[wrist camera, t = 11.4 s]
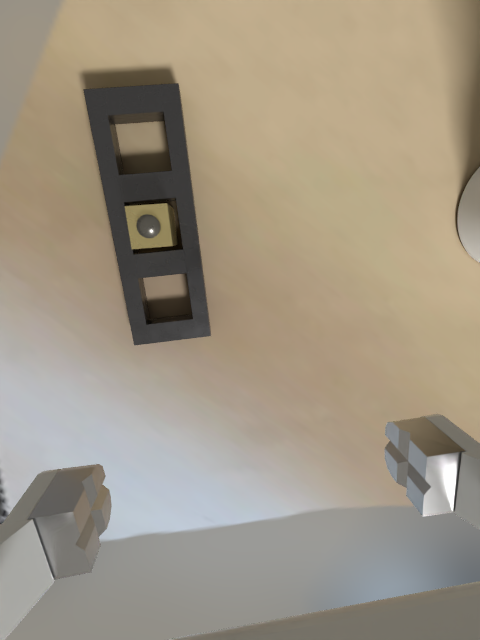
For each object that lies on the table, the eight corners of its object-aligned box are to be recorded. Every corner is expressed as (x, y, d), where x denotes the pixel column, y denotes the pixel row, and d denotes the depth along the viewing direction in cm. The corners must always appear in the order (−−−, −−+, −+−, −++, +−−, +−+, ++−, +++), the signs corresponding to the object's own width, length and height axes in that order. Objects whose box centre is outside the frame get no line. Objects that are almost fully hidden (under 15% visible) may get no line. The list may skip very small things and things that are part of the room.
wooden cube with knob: (173, 208, 36) (166, 202, 29) (178, 244, 37) (172, 246, 30) (137, 211, 35) (123, 205, 29) (143, 247, 36) (130, 249, 30)
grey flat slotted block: (180, 94, 33) (178, 83, 30) (210, 329, 40) (210, 335, 37) (92, 100, 32) (83, 89, 30) (138, 338, 39) (134, 345, 37)
